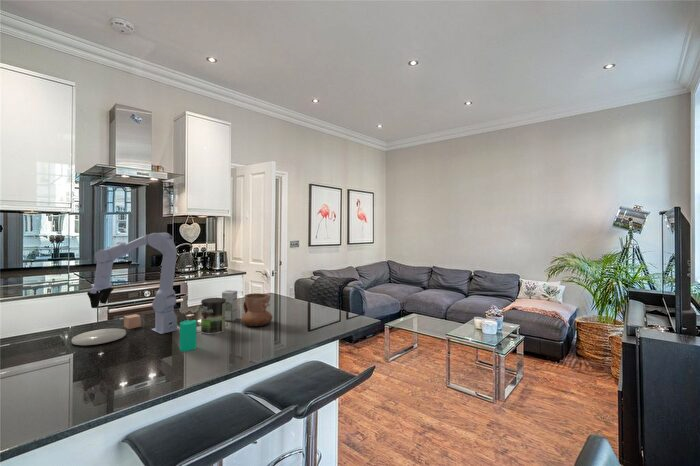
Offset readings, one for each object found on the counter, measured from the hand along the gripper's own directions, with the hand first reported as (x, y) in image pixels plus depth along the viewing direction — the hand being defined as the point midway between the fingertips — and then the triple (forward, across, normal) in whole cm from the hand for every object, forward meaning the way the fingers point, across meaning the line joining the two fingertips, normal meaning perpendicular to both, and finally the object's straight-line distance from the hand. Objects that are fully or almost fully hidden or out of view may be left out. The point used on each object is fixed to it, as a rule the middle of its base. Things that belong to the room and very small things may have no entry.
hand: (98, 305), depth 150 cm
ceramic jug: (+2, +3, +69) cm, 69 cm away
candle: (+4, +32, +46) cm, 56 cm away
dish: (+9, +14, +8) cm, 19 cm away
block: (+9, -1, +14) cm, 17 cm away
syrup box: (+4, -6, +56) cm, 56 cm away
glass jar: (+4, +11, +51) cm, 53 cm away
